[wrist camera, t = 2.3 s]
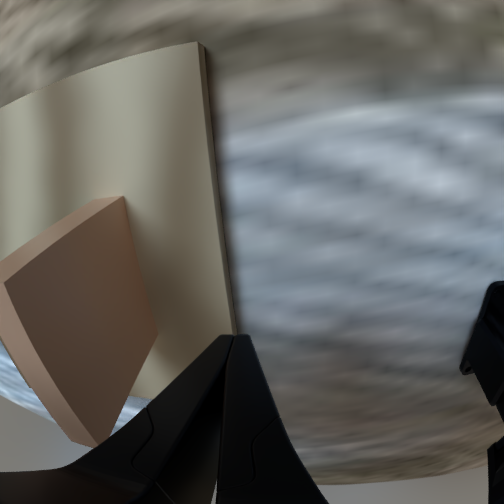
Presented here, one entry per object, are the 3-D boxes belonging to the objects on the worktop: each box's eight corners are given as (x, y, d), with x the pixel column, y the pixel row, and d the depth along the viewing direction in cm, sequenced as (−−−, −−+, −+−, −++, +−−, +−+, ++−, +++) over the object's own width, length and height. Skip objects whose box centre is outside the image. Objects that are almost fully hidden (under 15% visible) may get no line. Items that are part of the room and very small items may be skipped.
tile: (123, 195, 12) (3, 283, 6) (158, 333, 15) (102, 450, 9) (91, 199, 12) (-28, 281, 6) (129, 332, 15) (68, 440, 9)
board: (204, 46, 10) (186, 33, 8) (246, 394, 18) (241, 425, 16) (-37, 133, 12) (-64, 142, 10) (44, 367, 20) (29, 387, 18)
